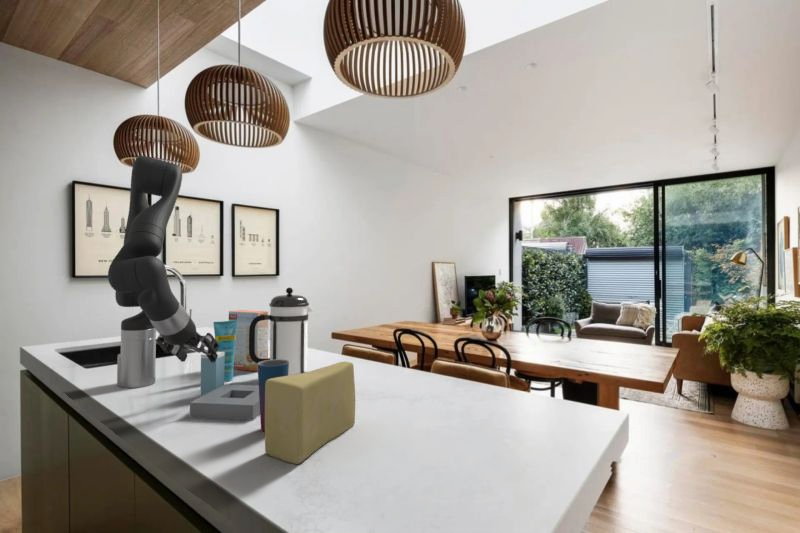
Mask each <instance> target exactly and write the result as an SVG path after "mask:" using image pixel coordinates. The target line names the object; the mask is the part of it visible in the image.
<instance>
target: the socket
mask: <svg viewBox="0 0 800 533" xmlns="http://www.w3.org/2000/svg"><path fill="white" fill-rule="evenodd" d="M258 416H260V401H259V385H250V384H249V385H247V384H246V385H245V384H243V385H241V384H224V385H222V386H221V387H219V388H217V389H215V390H213V391H211V392H209V393H207V394H205V395H203V396H201V395H200V397H198V398H196V399H194V400H192V401H191V402H189V418H201V419H202V418H203V419H223V420H225V419H226V420H230V419H231V420H244V421H245V420H246V421H247V420H248V421H249V420H250V421H254V420H255V419H256V418H257V417H258ZM253 419H254V420H253Z"/></svg>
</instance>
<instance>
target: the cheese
mask: <svg viewBox="0 0 800 533" xmlns="http://www.w3.org/2000/svg"><path fill="white" fill-rule="evenodd" d="M354 371H355V370H354V363H353V362H351V361H339V362H335V363H333V364H330V365H327V366H324V367H319V368H317V369H314V370H309V371H306V372H305V373H301V374H296V375H289V376H282V377H277V378H271V379H268V380H266V383H265V433H264V452H265V453H266V454H267V455H269V456H270V457H274V458H275V459H279V460H281V461H284V462H286V463H289V464H292V465H293V464H294V465H298V464H301V463H303V462H304V461H306V459H307V458H308V457H311V455H312V454H314V453H315V452H316V451H317V450H318V449H320V448H321V447H322V446H324V445H325V444H327V443H328V442H329V441H331V440H333V439H335V438H337V437H338V436H340V435H343V433H345V432H347V431H348V430H349V429H351V428H352V427H353V426H354V425H355V422H356V384H355V372H354Z"/></svg>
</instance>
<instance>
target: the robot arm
mask: <svg viewBox="0 0 800 533" xmlns="http://www.w3.org/2000/svg"><path fill="white" fill-rule="evenodd" d="M182 181H183V170H182V168H181V166H180V165H178V164H176V163H173V162H170V161H166V160H163V159H158V158H155V157H149V156H145V155H140V156H139V155H138V156H137V157H136V158H135V160H134V162H133V165H132V169H131V177H130V193H129V195H130V196H129V207H128V215H127V219H126V220H127V221H126V225H125V230H124V237H123V246H122V247H121V248H120V250H119V251H118V252H117V254H116V255H115V257H114V258H113V260H112V261H111V264H110V265H109V268H108V271H107V278H108V279H107V280H108V284H109V286H111V288H112V289H113V290H114V291H115V292H114V293H115V296H114V297H115V301H116V303H117V305H118V306H119V307H123V308H138V307H140V309H141V310H142V311H140V312H139V313H137V314H135V315H133V316H130V317H127V318H124V319H123V320H122V321H121V322H120V353H118V354H117V356H116V357H117V358H116V359H117V365H116V366H117V367H116V368H117V369H116V371H117V372H116V373H117V374H116V377H117V379H116V386H118V387H121V388H124V389H125V388H126V389H131V388H141V387H142V388H143V387H146V386H150V385H153V384H155V383H156V361H157V360H156V359H157V358H156V356H157V355H156V354H157V353H156V351H157V347H156V346H157V344H158V345H159V347H160V348H161V349H162V351H163V352H164V353H166V354H168V353H171V354H172V355H175V357H176V358H177V359H178V360H180V362H182V363H183V362H185V361H186V359H187V358H188V354H187V352H186V351H185V350H192V351H194V352H197V353H198V354H199V353H200V354H201V353H202V354H206V355H207V357H208V358H209V360H210V361H211V362H215V361H216V359H217V357H218V355H217V351H218V348H219V346H220V345H219V344H218V343H217V341H216V340H215V336H213V335H212V333H210V332H207V333H206V334H205V335H201V334H200V333H199V332H197V327H196V324H195V322H194V320H193V319H192V318H191V316H190V315H189V313H188V312H187V311H186V309H185V308H184V306H183V305H182V304H181V303H180V302H179V301H178V298H177V297H176V296H175V295H174V293H173V292H172V289H171V286H170V283H169V278H168V274H167V268H166V265H165V263H164V262H163V261H162V260H161V259H160V258H159V257H158V256H160V254H161V253H162V250H163V246H164V241H165V235H166V229H167V227H168V223H169V220H170V218H171V216H172V213H173V211H174V208H175V206H176V202H177V200H178V197H179V194H180V190H181V187H182V186H181V185H182ZM147 194H149V195H151V196H152V195H153V196H157V197H161V198H159V200H157V201H156V202H155V203H153V204H151V205H149V202H148V199H147ZM157 333H158V334H159V335H158V336H157ZM156 337H157V338H156ZM200 343H201V344H200ZM199 344H200V346H199ZM198 346H199V347H198ZM205 347H206V349H205Z"/></svg>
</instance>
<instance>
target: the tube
mask: <svg viewBox="0 0 800 533" xmlns="http://www.w3.org/2000/svg"><path fill="white" fill-rule="evenodd" d="M237 323H238V320H232V321H229V320H223V321H213V330H214V338H215V340H216V341H217V343H218V344H219V345H220V346H219V348H218V351H217V352H225V368H224V381H225V382H230V380H231V381H232V380H233V379H234V369H233V366H234V352H235V340H236V330H237Z"/></svg>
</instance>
